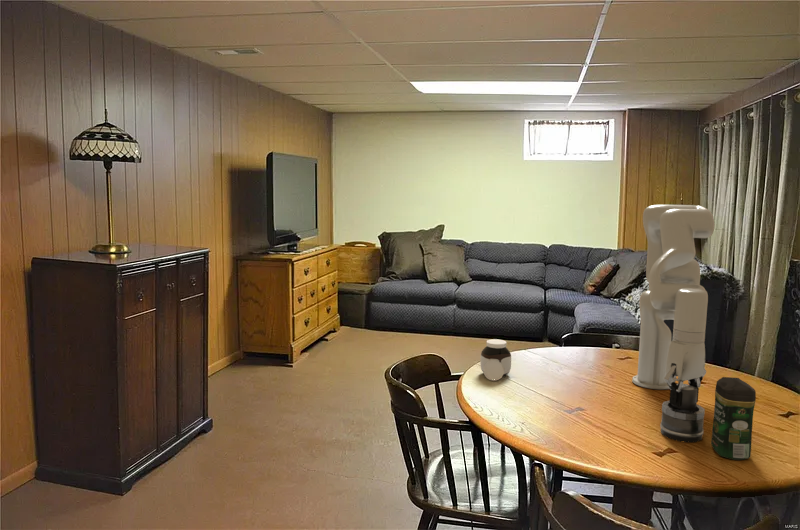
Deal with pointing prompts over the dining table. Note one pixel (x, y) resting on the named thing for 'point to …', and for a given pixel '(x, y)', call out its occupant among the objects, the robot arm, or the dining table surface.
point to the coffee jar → (733, 418)
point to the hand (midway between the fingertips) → (683, 402)
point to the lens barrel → (682, 423)
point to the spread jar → (495, 359)
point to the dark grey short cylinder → (688, 397)
